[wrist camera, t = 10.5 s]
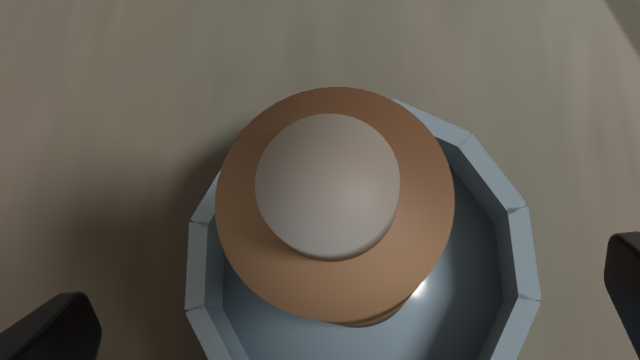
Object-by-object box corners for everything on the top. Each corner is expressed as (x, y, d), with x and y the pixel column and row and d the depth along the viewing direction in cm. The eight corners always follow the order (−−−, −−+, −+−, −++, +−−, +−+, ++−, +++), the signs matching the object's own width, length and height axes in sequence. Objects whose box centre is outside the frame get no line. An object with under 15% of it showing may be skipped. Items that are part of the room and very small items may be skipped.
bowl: (534, 433, 18) (562, 451, 16) (206, 434, 20) (177, 451, 17) (494, 121, 22) (511, 89, 19) (217, 138, 23) (195, 110, 20)
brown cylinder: (389, 347, 19) (405, 367, 8) (282, 299, 20) (151, 253, 8) (431, 237, 20) (500, 107, 9) (326, 197, 21) (262, 31, 9)
